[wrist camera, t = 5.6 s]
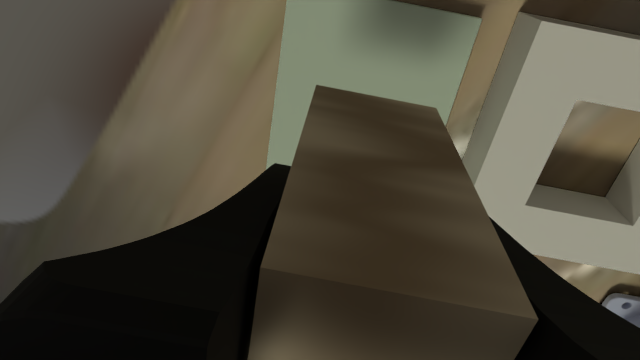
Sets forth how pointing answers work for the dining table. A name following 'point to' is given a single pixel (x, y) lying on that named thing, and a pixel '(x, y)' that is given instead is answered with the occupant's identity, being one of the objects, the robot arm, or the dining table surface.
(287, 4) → the mat
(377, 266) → the plug
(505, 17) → the dining table surface
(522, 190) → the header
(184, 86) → the dining table surface
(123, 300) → the robot arm
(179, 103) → the dining table surface
